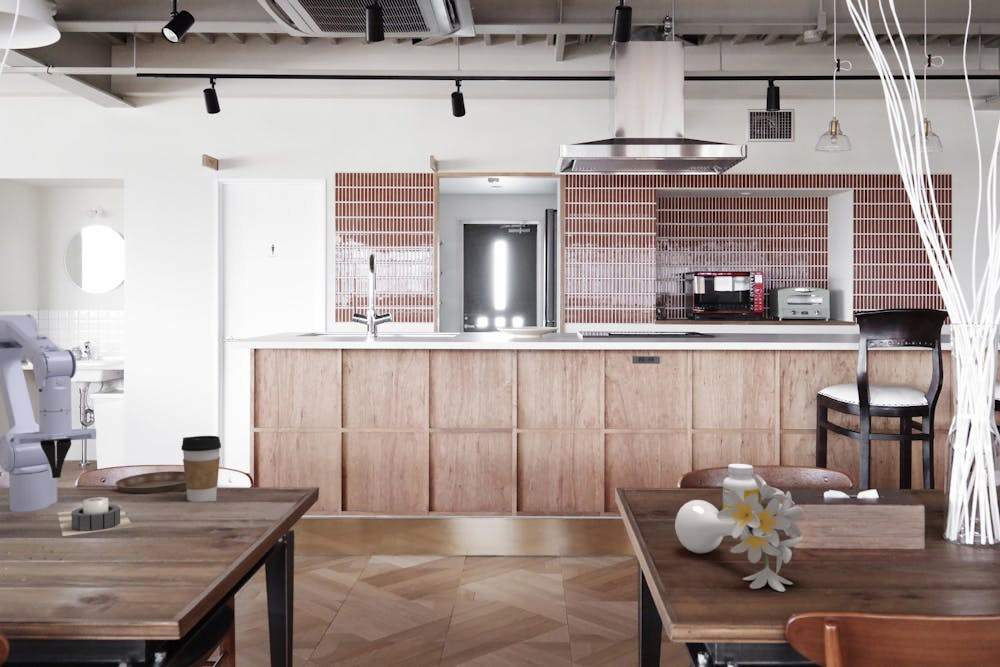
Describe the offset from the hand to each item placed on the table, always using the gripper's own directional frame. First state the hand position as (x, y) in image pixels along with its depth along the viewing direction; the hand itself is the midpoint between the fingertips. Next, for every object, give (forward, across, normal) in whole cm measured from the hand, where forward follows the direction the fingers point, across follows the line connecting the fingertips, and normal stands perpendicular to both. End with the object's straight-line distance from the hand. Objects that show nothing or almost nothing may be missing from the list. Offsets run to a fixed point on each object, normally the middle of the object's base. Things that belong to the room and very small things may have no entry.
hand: (56, 477), depth 159 cm
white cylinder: (+8, +6, -10) cm, 15 cm away
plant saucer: (+10, +22, +22) cm, 32 cm away
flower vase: (+10, +95, -92) cm, 132 cm away
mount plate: (+9, +6, -5) cm, 12 cm away
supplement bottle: (+10, +113, -78) cm, 137 cm away
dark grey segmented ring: (+8, +6, -10) cm, 15 cm away
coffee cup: (+10, +28, +2) cm, 30 cm away
